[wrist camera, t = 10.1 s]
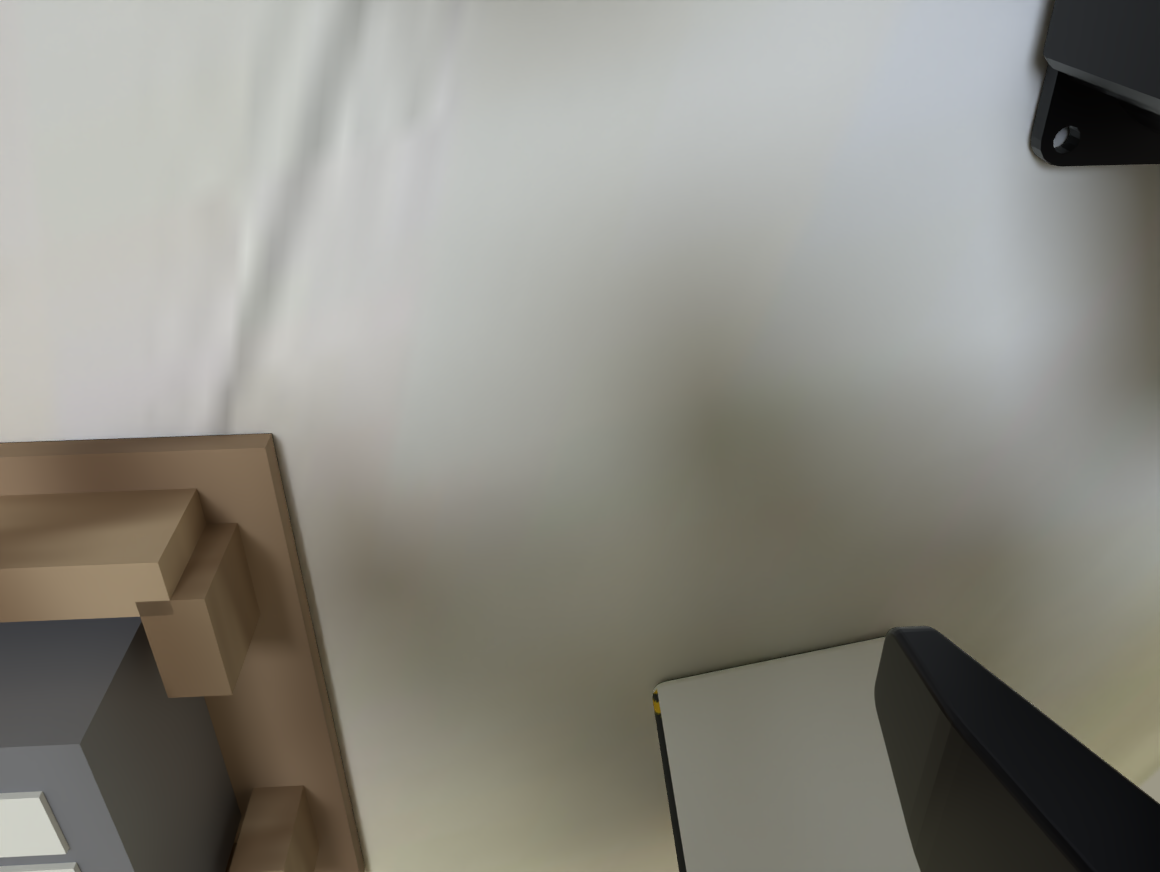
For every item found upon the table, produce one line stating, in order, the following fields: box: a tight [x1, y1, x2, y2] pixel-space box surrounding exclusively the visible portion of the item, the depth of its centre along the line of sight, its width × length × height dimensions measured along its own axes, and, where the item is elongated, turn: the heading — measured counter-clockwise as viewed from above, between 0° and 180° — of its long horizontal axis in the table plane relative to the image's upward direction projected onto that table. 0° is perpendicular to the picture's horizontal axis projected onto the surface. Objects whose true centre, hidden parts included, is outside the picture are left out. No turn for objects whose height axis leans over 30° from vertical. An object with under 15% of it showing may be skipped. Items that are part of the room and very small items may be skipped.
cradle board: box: [0, 434, 365, 872], centre depth 24 cm, size 10×16×3 cm, turn 1°
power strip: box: [0, 617, 242, 872], centre depth 22 cm, size 4×9×5 cm, turn 1°
